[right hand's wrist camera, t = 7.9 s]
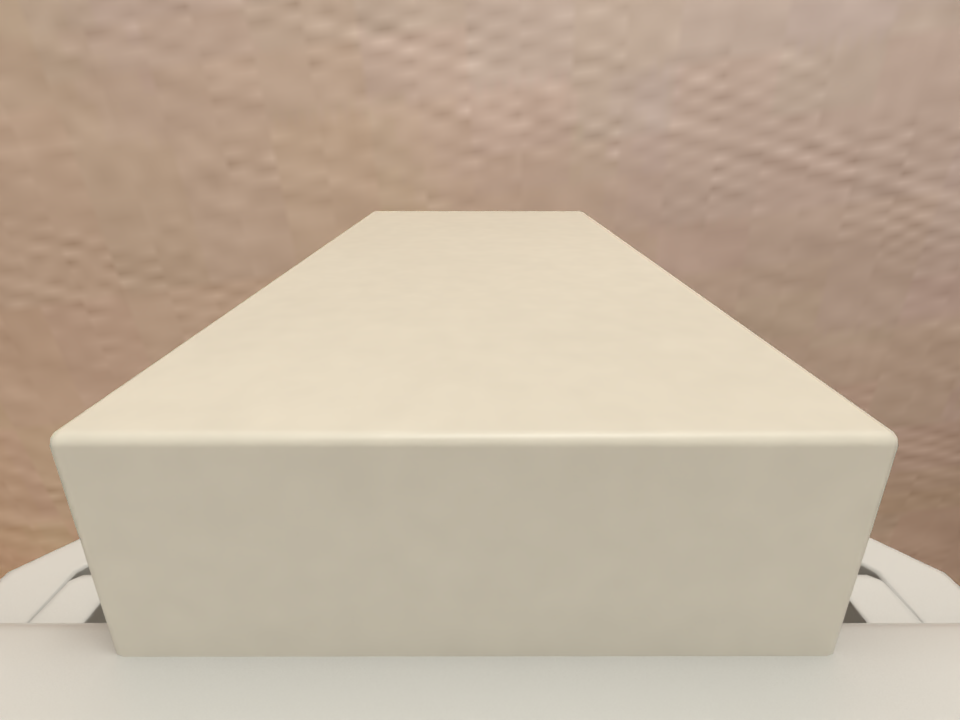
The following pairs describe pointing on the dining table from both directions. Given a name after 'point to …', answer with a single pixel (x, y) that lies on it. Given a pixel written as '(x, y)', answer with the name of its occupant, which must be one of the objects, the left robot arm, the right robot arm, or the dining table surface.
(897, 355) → the dining table surface
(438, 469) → the box
